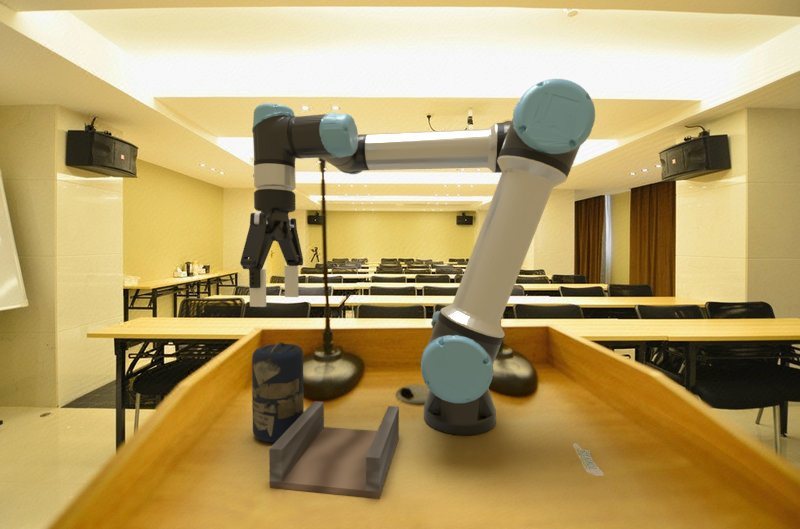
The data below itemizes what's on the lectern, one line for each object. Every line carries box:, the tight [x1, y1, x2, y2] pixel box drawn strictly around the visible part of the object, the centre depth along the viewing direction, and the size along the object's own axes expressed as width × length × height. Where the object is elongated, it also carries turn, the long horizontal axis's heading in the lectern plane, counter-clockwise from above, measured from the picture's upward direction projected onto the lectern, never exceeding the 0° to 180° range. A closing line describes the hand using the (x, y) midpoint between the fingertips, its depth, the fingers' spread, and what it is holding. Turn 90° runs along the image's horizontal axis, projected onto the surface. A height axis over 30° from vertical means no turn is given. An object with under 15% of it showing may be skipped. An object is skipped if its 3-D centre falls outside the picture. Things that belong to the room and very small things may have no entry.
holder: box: [268, 400, 400, 499], centre depth 65 cm, size 17×18×6 cm
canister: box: [251, 341, 305, 443], centre depth 74 cm, size 10×10×18 cm
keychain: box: [572, 442, 605, 477], centre depth 66 cm, size 10×1×3 cm
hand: (276, 301), depth 73 cm, fingers open, 13 cm apart
